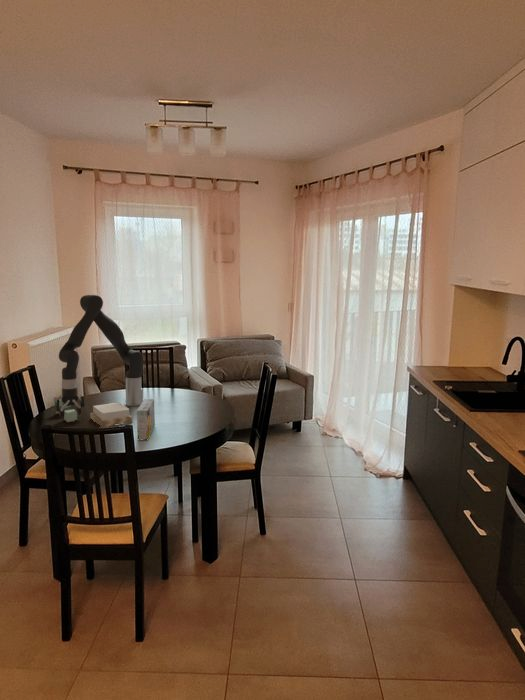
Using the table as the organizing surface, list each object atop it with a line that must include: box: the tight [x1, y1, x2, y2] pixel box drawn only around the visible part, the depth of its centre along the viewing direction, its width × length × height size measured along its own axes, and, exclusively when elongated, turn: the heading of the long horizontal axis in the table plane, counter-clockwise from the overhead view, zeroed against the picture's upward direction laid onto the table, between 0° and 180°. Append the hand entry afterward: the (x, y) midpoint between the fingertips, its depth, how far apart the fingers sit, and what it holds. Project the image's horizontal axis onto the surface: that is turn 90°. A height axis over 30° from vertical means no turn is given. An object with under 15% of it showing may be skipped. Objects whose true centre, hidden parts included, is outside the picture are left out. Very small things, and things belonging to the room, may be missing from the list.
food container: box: [53, 395, 72, 415], centre depth 253 cm, size 12×6×10 cm, turn 168°
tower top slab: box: [92, 402, 131, 421], centre depth 242 cm, size 14×16×4 cm
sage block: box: [63, 408, 78, 423], centre depth 241 cm, size 5×5×5 cm
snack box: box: [136, 398, 156, 440], centre depth 224 cm, size 21×6×15 cm, turn 5°
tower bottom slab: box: [89, 412, 133, 428], centre depth 242 cm, size 16×18×4 cm
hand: (70, 416), depth 241 cm, fingers open, 8 cm apart
